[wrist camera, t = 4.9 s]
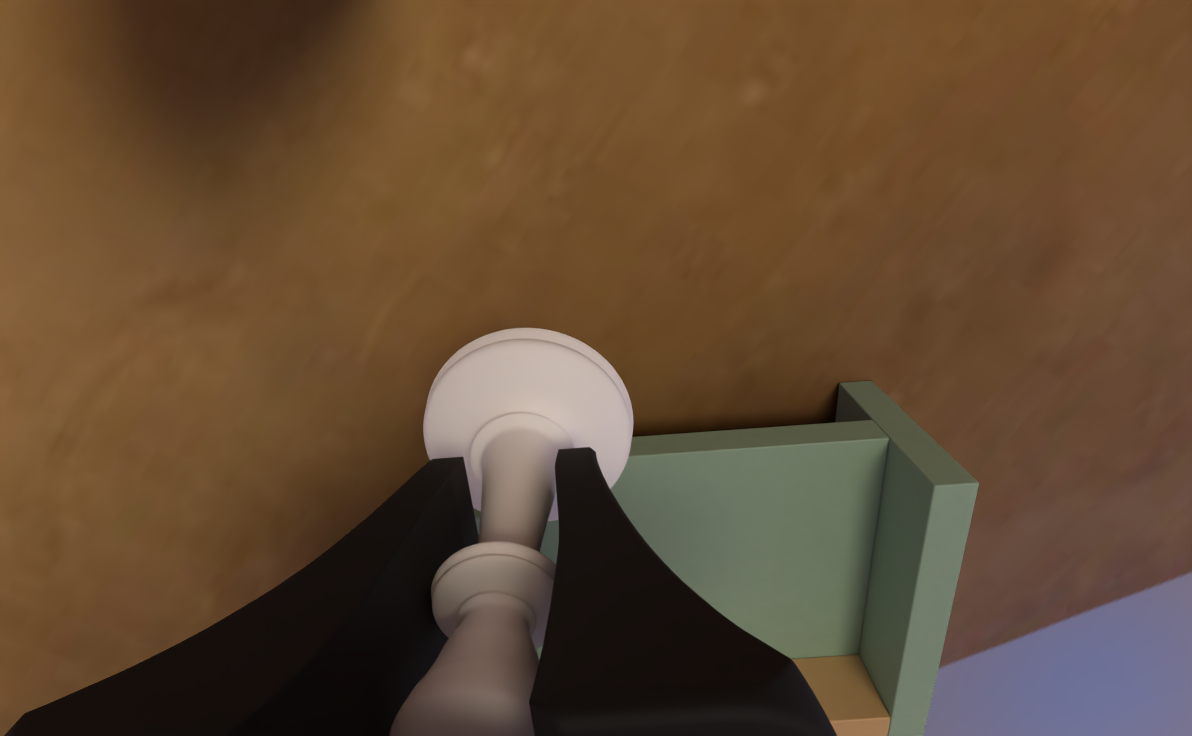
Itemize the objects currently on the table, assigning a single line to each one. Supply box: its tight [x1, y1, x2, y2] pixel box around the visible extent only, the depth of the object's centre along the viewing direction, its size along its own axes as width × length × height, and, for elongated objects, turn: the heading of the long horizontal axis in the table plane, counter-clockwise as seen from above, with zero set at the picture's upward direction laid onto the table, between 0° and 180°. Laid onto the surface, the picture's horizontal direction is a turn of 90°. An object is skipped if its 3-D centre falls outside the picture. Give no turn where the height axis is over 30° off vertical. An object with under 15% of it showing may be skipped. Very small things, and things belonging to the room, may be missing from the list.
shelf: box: [473, 381, 979, 736], centre depth 21 cm, size 14×10×6 cm
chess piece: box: [389, 328, 633, 736], centre depth 10 cm, size 5×5×10 cm
